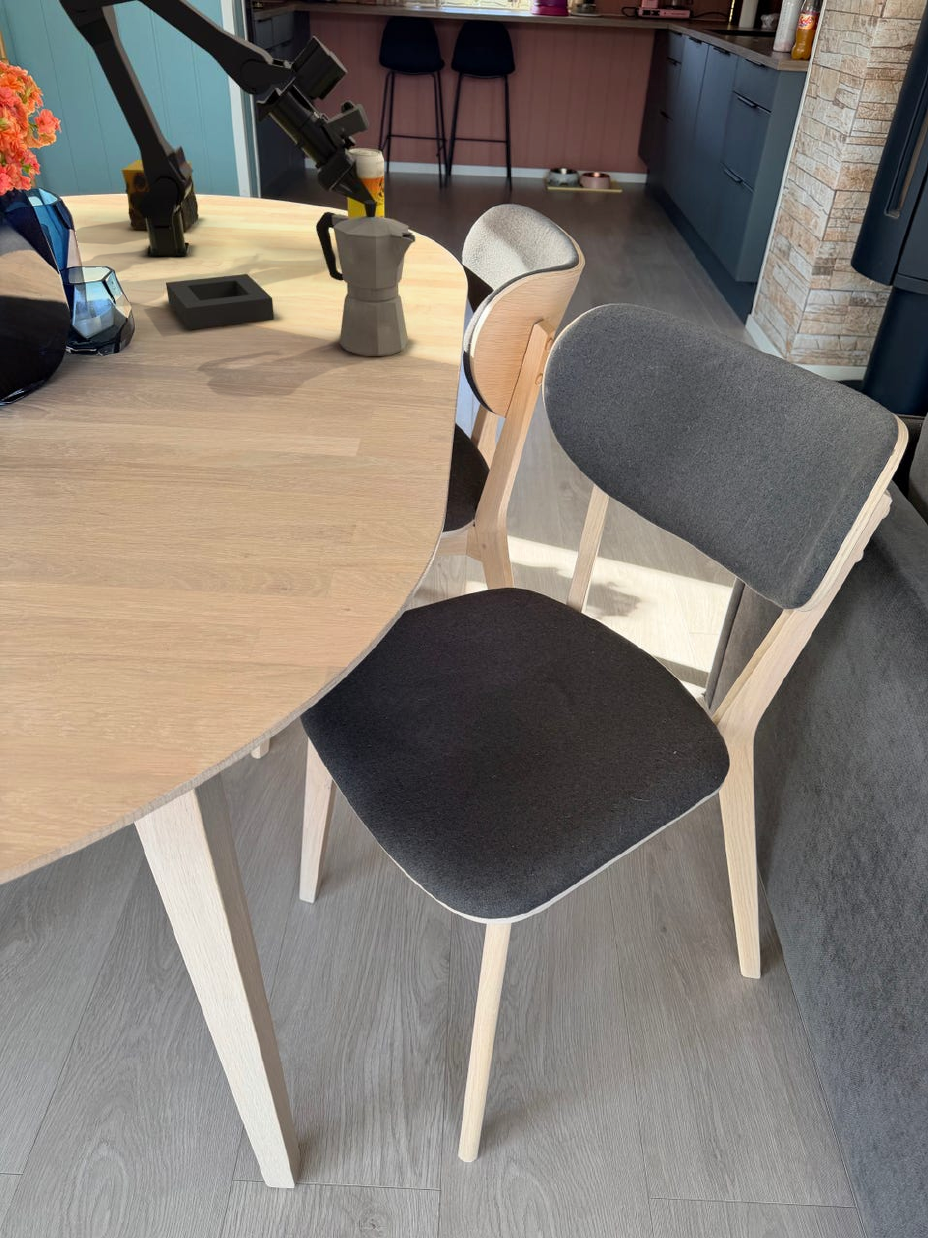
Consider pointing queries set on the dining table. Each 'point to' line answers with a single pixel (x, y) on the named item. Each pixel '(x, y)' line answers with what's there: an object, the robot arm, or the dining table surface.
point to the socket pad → (219, 301)
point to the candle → (139, 189)
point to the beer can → (368, 180)
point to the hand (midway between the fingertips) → (374, 200)
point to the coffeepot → (368, 278)
